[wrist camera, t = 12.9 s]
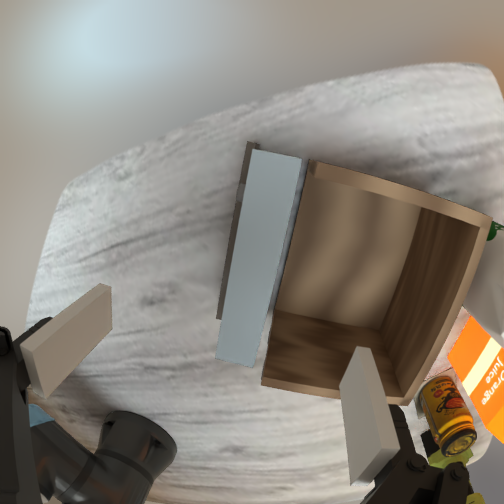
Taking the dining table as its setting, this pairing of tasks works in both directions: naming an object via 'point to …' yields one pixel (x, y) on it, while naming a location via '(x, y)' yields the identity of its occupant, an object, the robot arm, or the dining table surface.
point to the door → (256, 253)
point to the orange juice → (481, 374)
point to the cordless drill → (438, 460)
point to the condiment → (446, 413)
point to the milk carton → (489, 286)
